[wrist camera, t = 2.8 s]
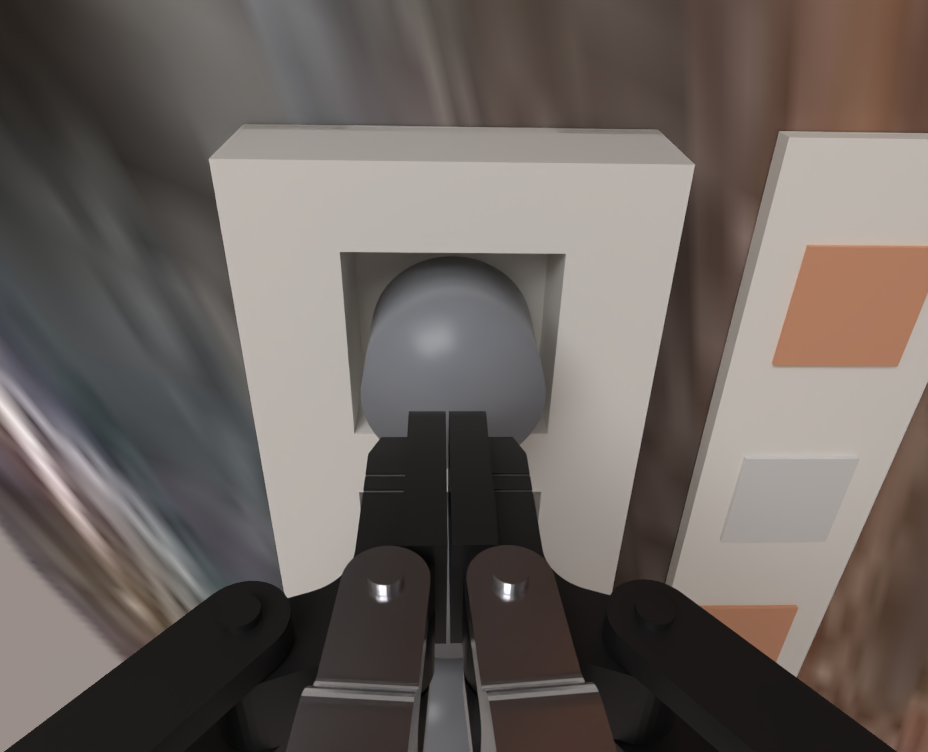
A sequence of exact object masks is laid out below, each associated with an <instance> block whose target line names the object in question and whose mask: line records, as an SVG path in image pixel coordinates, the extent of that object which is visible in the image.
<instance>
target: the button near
mask: <svg viewBox="0 0 928 752" xmlns="http://www.w3.org/2000/svg"><path fill="white" fill-rule="evenodd" d="M545 398H546V386H545V378H544V374H543V369H542V365H541V360H540V356H539V351H538V347H537V343H536V338H535V334H534V329H533V325H532V320H531V316H530V312H529V308H528V305H527V302H526V300H525V298H524V296H523V294H522V293H521V291H520V290H519V288H518V287H517V286H516V284H515V283H514V282H513V281H512V280H511V279H510V278H509V277H508V276H507V275H505V274H504V273H503V272H501V271H500V270H498V269H497V268H495V267H493V266H491V265H489V264H487V263H485V262H482V261H479V260H476V259H472V258H467V257H458V256H446V257H437V258H432V259H428V260H425V261H422V262H419V263H417V264H415V265H412V266H410V267H409V268H407V269H406V270H404V271H402V272H401V273H400V274H398V275H397V276H396V277H395V278H394V279H393V280H392V281H391V282H390V283H389V284H388V285H387V286H386V288H385V289H384V291H383V292H382V293H381V295H380V297H379V299H378V301H377V304H376V307H375V310H374V314H373V320H372V325H371V331H370V336H369V342H368V348H367V353H366V359H365V365H364V370H363V376H362V382H361V404H362V409H363V412H364V415H365V418H366V420H367V422H368V424H369V426H370V427H371V429H372V430H373V432H374V433H375V435H376V436H377V437H378V438H379V439H380V438H381V437H407V431H408V415H409V411H446V464H447V469H448V431H449V411H486V416H487V427H488V437H513V438H514V439H515V440H516V441H517V443H518V444H519V445H520V444H521V443H522V442H523V441H524V440H525V439H526V438H527V437H528V436H529V435H530V434H531V432H532V431H533V429H534V428H535V427H536V425H537V423H538V421H539V419H540V417H541V414H542V411H543V408H544V404H545Z"/></svg>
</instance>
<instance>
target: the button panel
mask: <svg viewBox="0 0 928 752" xmlns="http://www.w3.org/2000/svg"><path fill="white" fill-rule="evenodd" d="M209 162H210V168H211V174H212V180H213V185H214V191H215V197H216V203H217V209H218V214H219V220H220V226H221V232H222V237H223V243H224V249H225V255H226V260H227V266H228V272H229V278H230V283H231V289H232V295H233V301H234V306H235V312H236V318H237V324H238V329H239V335H240V341H241V347H242V352H243V358H244V364H245V370H246V376H247V381H248V387H249V393H250V399H251V404H252V410H253V416H254V422H255V427H256V433H257V439H258V445H259V450H260V456H261V462H262V468H263V473H264V479H265V485H266V491H267V496H268V502H269V508H270V514H271V519H272V525H273V531H274V537H275V543H276V548H277V554H278V560H279V566H280V571H281V577H282V583H283V589H284V594H285V595H286V597H287V598H290V597H293V596H297V595H301V594H304V593H308V592H311V591H314V590H317V589H320V588H322V587H324V586H327V585H329V584H330V583H332V582H333V581H335V580H336V579H337V578H339V577H340V576H341V575H342V573H343V571H344V569H345V567H346V566H347V564H348V563H349V562H350V561H351V560H352V559H353V557H354V553H355V547H356V540H357V533H358V525H359V518H360V510H361V503H362V496H363V488H364V481H365V476H366V474H365V473H366V466H367V458H368V454H369V452H370V451H371V450H372V448H373V447H374V446H375V445H376V443H377V442H378V441H379V438H378V437H377V436H376V435H375V433H374V432H373V430H372V429H371V427H370V426H369V424H368V422H367V420H366V418H365V415H364V412H363V409H362V404H361V382H362V376H363V370H364V365H365V359H366V353H367V348H368V342H369V336H370V331H371V325H372V320H373V314H374V310H375V307H376V304H377V301H378V299H379V297H380V295H381V293H382V292H383V291H384V289H385V288H386V286H387V285H388V284H389V283H390V282H391V281H392V280H393V279H394V278H395V277H396V276H397V275H398V274H400V273H401V272H402V271H404V270H406V269H407V268H409V267H410V266H412V265H415V264H417V263H419V262H422V261H425V260H428V259H432V258H437V257H446V256H458V257H467V258H472V259H476V260H479V261H482V262H485V263H487V264H489V265H491V266H493V267H495V268H497V269H498V270H500V271H501V272H503V273H504V274H505V275H507V276H508V277H509V278H510V279H511V280H512V281H513V282H514V283H515V284H516V286H517V287H518V288H519V290H520V291H521V293H522V294H523V296H524V298H525V300H526V302H527V305H528V308H529V312H530V316H531V320H532V325H533V329H534V334H535V338H536V343H537V347H538V351H539V356H540V360H541V365H542V369H543V374H544V378H545V386H546V398H545V404H544V408H543V411H542V414H541V417H540V419H539V421H538V423H537V425H536V427H535V428H534V429H533V431H532V432H531V434H530V435H529V436H528V437H527V438H526V439H525V440H524V441H523V442H522V443H521V444H520V446H521V448H522V449H523V450H524V451H525V453H526V454H527V460H528V466H529V472H530V478H531V484H532V493H533V495H534V501H535V507H536V513H537V519H538V525H539V531H540V537H541V543H542V549H543V553H544V556H545V559H546V561H547V562H548V564H549V565H550V567H551V568H552V569H553V570H554V571H555V572H556V573H557V574H558V575H559V576H561V577H562V578H563V579H565V580H566V581H568V582H570V583H572V584H574V585H576V586H579V587H582V588H585V589H589V590H592V591H596V592H600V593H604V594H607V595H611V593H612V589H613V584H614V579H615V574H616V568H617V563H618V558H619V553H620V548H621V543H622V538H623V532H624V527H625V522H626V517H627V512H628V507H629V502H630V496H631V491H632V486H633V481H634V476H635V471H636V466H637V460H638V455H639V450H640V445H641V440H642V435H643V430H644V424H645V419H646V414H647V409H648V404H649V399H650V394H651V388H652V383H653V378H654V373H655V368H656V363H657V358H658V352H659V347H660V342H661V337H662V332H663V327H664V322H665V316H666V311H667V306H668V301H669V296H670V291H671V286H672V280H673V275H674V270H675V265H676V260H677V255H678V249H679V244H680V239H681V234H682V229H683V224H684V219H685V213H686V208H687V203H688V198H689V193H690V188H691V183H692V177H693V172H694V167H695V164H694V163H693V162H692V161H691V160H689V159H688V158H687V157H686V156H685V155H684V154H683V153H682V152H681V151H680V150H679V149H678V148H677V147H676V146H675V145H674V144H673V143H672V142H670V141H669V140H668V139H667V138H666V137H665V136H664V135H663V134H662V133H661V132H660V131H659V130H652V129H579V128H506V127H433V126H360V125H287V124H243V125H242V126H241V127H240V128H239V129H238V130H237V131H236V132H235V133H234V134H233V135H232V136H231V137H230V138H229V139H228V140H227V141H226V142H225V143H224V144H223V145H222V146H221V147H220V148H219V149H218V150H217V151H216V152H215V153H214V154H213V155H212V156H211V157H210V158H209ZM447 492H448V469H447Z"/></svg>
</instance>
